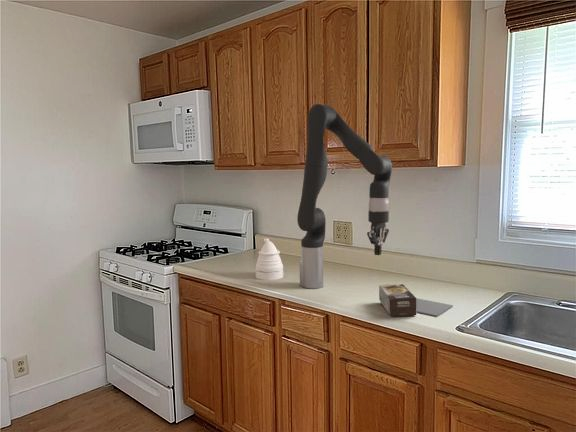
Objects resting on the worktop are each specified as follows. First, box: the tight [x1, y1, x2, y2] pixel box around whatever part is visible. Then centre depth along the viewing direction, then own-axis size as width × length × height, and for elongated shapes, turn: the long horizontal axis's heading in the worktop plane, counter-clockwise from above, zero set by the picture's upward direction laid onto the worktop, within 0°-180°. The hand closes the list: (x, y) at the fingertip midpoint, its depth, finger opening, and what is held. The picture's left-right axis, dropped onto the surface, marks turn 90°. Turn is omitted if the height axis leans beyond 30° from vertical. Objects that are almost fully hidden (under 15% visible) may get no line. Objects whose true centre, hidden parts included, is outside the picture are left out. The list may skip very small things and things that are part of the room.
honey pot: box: [255, 237, 284, 281], centre depth 205 cm, size 13×13×18 cm
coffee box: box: [378, 283, 417, 318], centre depth 156 cm, size 9×6×16 cm
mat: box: [416, 297, 454, 318], centre depth 159 cm, size 16×14×1 cm
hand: (377, 254), depth 169 cm, fingers closed
